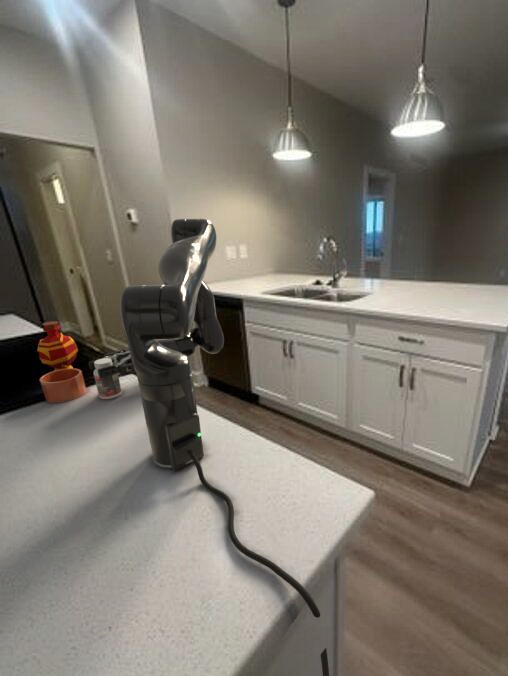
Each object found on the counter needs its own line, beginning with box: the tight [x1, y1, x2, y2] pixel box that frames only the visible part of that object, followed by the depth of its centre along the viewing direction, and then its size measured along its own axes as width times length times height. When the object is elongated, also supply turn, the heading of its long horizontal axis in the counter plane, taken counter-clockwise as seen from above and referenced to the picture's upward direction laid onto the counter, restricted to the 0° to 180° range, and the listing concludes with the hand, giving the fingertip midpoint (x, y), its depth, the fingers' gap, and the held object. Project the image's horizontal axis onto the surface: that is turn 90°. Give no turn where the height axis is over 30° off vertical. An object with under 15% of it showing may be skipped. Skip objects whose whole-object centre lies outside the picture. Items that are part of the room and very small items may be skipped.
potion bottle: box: [36, 320, 79, 371], centre depth 104 cm, size 10×10×15 cm
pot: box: [39, 367, 87, 403], centre depth 91 cm, size 9×9×6 cm
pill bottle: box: [93, 357, 122, 400], centre depth 89 cm, size 5×5×10 cm
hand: (94, 369), depth 87 cm, fingers open, 6 cm apart
